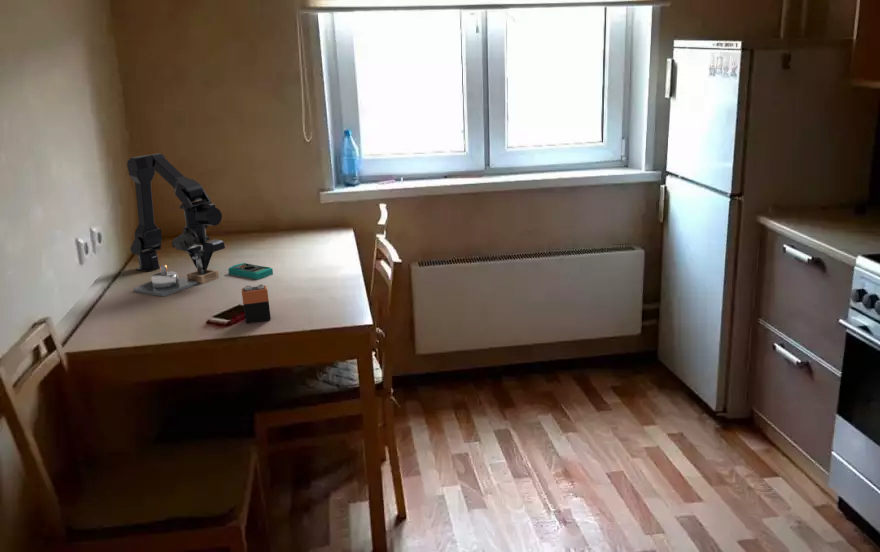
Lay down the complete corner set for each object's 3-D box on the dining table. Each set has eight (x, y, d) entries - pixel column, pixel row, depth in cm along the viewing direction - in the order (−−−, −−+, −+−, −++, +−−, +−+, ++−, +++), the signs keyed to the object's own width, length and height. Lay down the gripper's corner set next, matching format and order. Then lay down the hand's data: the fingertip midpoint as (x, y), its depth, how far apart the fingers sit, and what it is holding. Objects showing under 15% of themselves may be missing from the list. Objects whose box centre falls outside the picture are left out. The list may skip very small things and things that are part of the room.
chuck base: (133, 291, 248) (133, 288, 248) (168, 278, 259) (168, 276, 259) (163, 296, 241) (163, 293, 241) (198, 283, 252) (197, 280, 252)
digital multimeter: (244, 269, 267) (243, 261, 267) (274, 275, 259) (273, 266, 258) (227, 275, 262) (226, 267, 261) (257, 281, 253) (256, 272, 253)
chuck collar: (179, 285, 248) (176, 267, 246) (153, 289, 245) (150, 271, 243) (177, 272, 262) (174, 255, 260) (152, 276, 259) (149, 259, 257)
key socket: (187, 281, 256) (186, 274, 255) (204, 275, 261) (203, 268, 260) (202, 283, 252) (201, 276, 251) (218, 277, 258) (217, 270, 257)
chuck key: (192, 275, 254) (189, 254, 252) (206, 270, 259) (203, 250, 257) (198, 276, 253) (195, 255, 251) (212, 271, 258) (210, 251, 256)
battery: (245, 319, 217) (240, 285, 215) (269, 315, 219) (265, 281, 216) (245, 324, 213) (241, 289, 211) (271, 320, 215) (266, 286, 212)
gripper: (155, 226, 249) (162, 272, 254) (196, 230, 240) (203, 279, 244) (182, 218, 258) (189, 263, 263) (222, 222, 249) (229, 269, 253)
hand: (201, 269), depth 256 cm, fingers closed on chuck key, 3 cm apart
